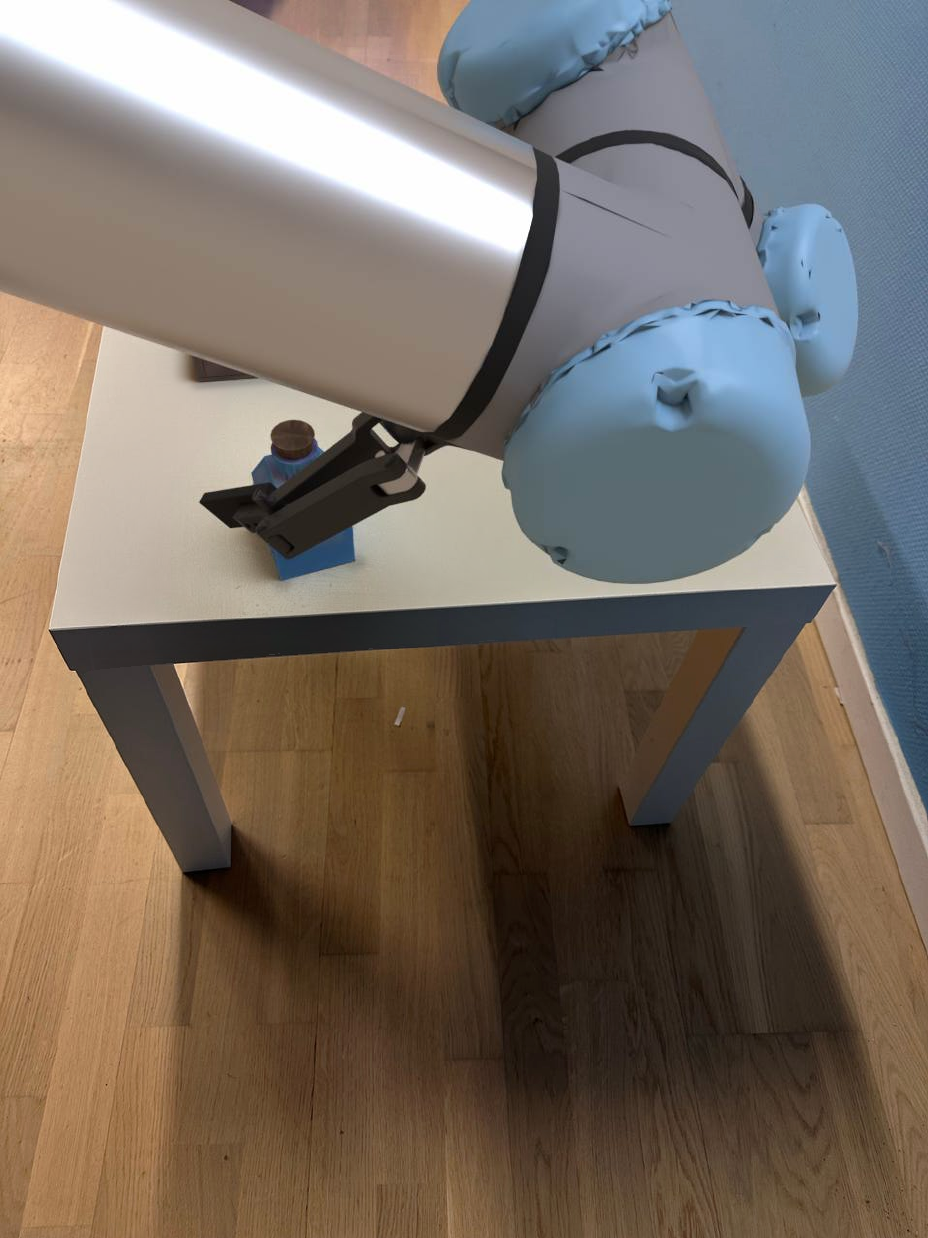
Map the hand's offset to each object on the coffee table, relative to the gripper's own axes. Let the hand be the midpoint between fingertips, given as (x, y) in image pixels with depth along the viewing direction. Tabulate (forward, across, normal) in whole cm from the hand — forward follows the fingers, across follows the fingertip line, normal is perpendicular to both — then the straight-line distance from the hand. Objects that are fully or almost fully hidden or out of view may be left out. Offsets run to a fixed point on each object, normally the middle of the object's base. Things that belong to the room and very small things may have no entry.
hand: (263, 428), depth 59 cm
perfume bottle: (+10, +1, -14) cm, 17 cm away
